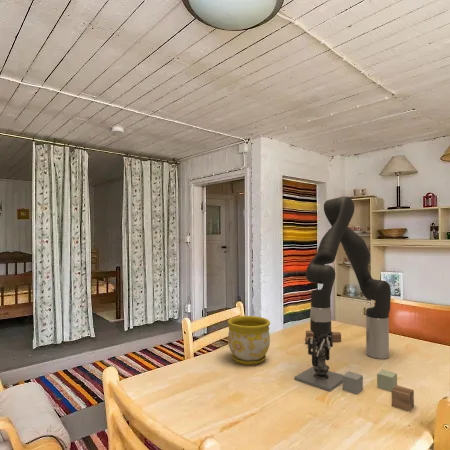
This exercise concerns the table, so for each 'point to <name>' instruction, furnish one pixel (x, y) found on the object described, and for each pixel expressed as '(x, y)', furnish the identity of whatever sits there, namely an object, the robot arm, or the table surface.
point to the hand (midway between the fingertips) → (320, 362)
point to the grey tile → (324, 384)
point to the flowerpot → (248, 339)
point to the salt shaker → (321, 366)
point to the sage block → (386, 380)
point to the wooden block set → (336, 338)
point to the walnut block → (402, 398)
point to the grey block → (353, 382)
